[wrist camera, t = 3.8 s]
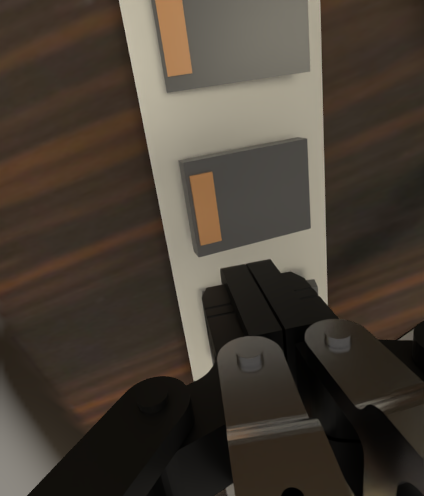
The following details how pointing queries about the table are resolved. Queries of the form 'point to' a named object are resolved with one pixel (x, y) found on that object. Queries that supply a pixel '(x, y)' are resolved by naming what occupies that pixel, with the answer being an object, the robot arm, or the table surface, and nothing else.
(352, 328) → the robot arm
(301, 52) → the switch
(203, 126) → the power strip
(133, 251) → the table surface
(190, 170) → the switch middle
